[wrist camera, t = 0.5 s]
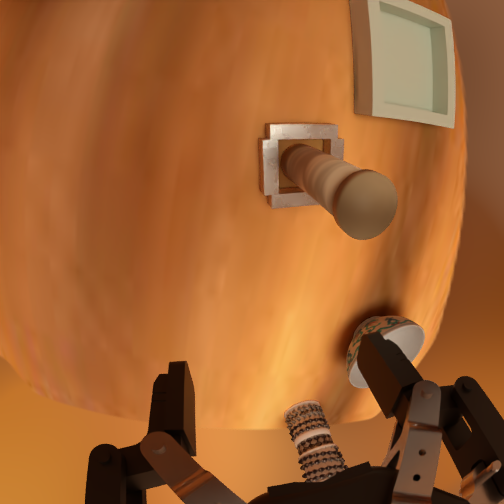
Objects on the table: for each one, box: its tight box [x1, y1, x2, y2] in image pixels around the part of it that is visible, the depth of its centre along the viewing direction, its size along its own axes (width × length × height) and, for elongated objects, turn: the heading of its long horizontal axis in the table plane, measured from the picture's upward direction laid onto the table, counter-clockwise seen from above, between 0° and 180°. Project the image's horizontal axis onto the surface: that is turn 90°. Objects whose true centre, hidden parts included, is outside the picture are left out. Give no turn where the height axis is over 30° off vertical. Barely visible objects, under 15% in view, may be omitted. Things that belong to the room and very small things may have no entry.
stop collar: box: [259, 123, 344, 209], centre depth 31 cm, size 9×9×2 cm
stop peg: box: [281, 144, 398, 240], centre depth 26 cm, size 5×5×15 cm
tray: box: [349, 0, 455, 129], centre depth 26 cm, size 16×14×4 cm
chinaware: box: [346, 316, 425, 388], centre depth 46 cm, size 15×15×8 cm
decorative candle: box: [284, 400, 348, 482], centre depth 48 cm, size 9×9×25 cm
